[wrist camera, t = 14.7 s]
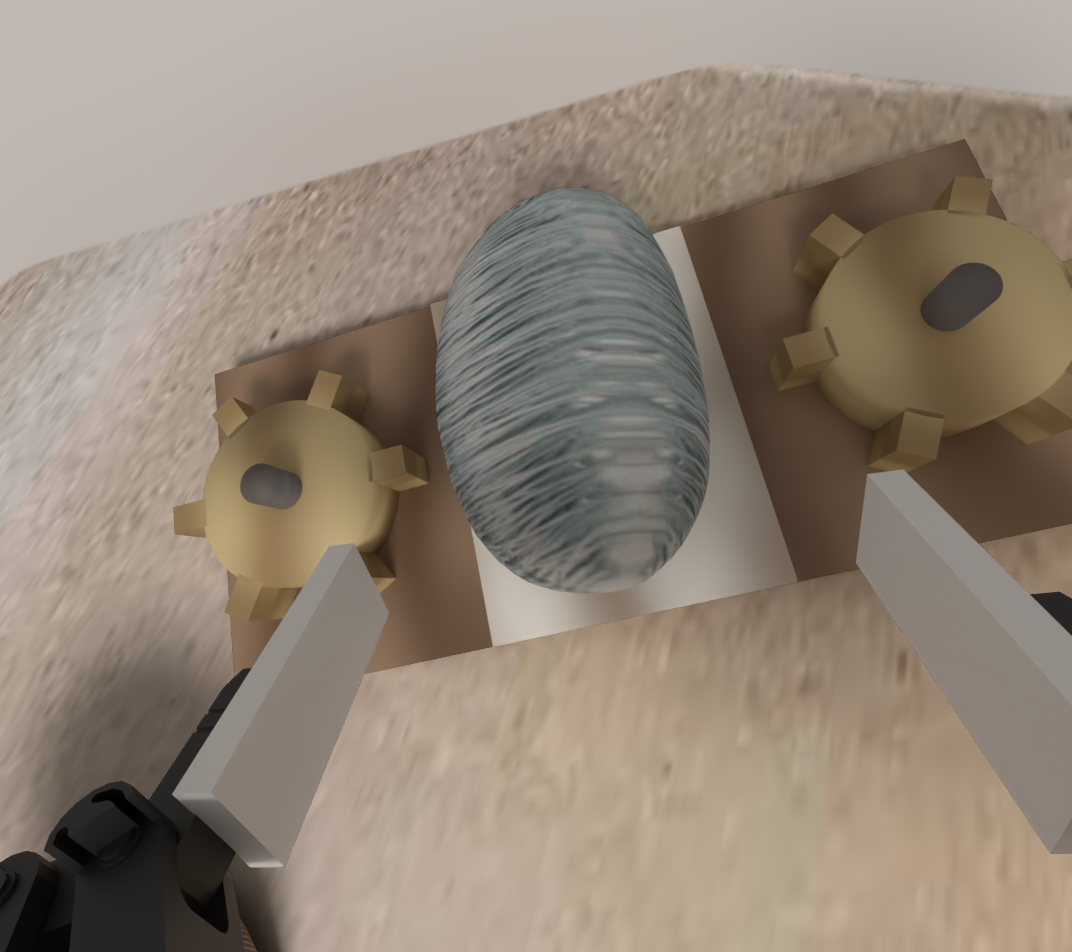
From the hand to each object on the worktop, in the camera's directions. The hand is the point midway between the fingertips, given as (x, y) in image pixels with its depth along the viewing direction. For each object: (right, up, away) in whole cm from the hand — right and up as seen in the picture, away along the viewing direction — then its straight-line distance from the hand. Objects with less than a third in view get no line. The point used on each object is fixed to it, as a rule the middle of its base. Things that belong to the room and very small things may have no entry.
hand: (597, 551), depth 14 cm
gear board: (+1, +4, +10) cm, 11 cm away
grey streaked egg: (+1, +4, +9) cm, 9 cm away
